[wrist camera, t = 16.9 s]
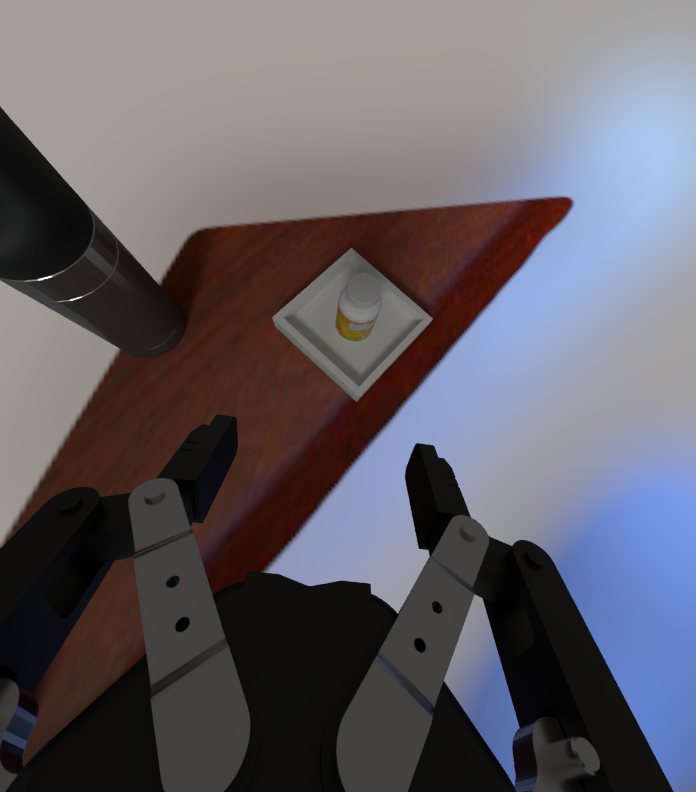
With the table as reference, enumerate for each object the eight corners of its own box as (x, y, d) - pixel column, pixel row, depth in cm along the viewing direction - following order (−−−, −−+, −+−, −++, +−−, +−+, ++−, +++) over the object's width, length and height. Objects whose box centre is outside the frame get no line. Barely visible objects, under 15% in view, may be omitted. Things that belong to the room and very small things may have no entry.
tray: (275, 327, 42) (272, 317, 39) (349, 261, 46) (351, 247, 43) (356, 401, 41) (359, 397, 38) (425, 328, 45) (433, 318, 42)
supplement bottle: (335, 308, 43) (340, 265, 33) (371, 310, 43) (386, 268, 34) (334, 342, 42) (340, 307, 32) (372, 344, 42) (388, 310, 33)
